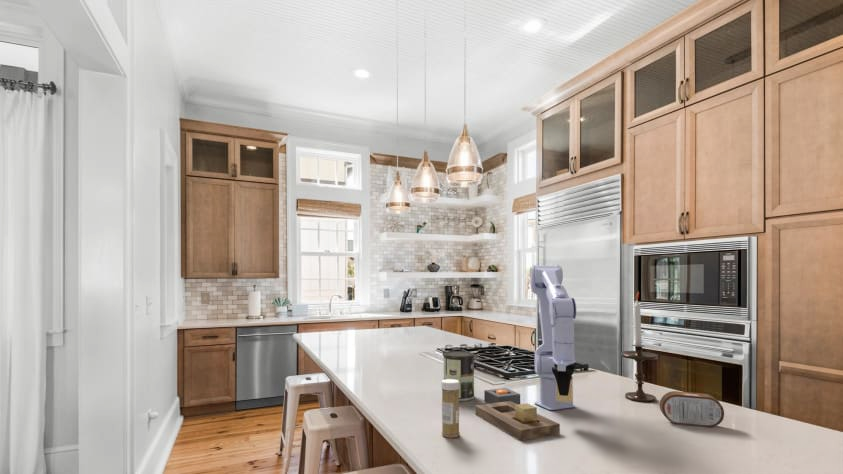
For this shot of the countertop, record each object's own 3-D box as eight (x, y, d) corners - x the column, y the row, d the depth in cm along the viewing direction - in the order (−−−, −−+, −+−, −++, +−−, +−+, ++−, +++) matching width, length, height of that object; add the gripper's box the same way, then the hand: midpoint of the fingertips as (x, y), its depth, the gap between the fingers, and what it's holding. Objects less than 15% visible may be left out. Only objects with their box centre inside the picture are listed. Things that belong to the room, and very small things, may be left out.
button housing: (505, 398, 144) (505, 387, 144) (520, 405, 136) (520, 394, 137) (484, 401, 141) (484, 390, 141) (498, 408, 133) (498, 396, 134)
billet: (527, 426, 118) (527, 403, 119) (537, 431, 115) (536, 407, 115) (515, 428, 117) (514, 404, 117) (524, 433, 113) (523, 409, 114)
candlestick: (667, 401, 142) (662, 291, 144) (641, 405, 138) (637, 291, 140) (639, 392, 152) (635, 290, 155) (614, 395, 148) (611, 290, 151)
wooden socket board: (510, 409, 133) (510, 400, 133) (559, 434, 112) (559, 423, 113) (475, 414, 128) (475, 405, 128) (520, 440, 108) (520, 430, 108)
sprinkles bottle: (463, 436, 111) (463, 381, 112) (448, 439, 108) (448, 383, 110) (452, 430, 115) (452, 377, 116) (437, 434, 112) (437, 379, 113)
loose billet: (557, 397, 123) (557, 375, 123) (573, 398, 121) (572, 376, 121) (556, 401, 119) (555, 378, 119) (572, 402, 117) (571, 379, 118)
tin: (722, 426, 119) (720, 394, 120) (726, 430, 116) (724, 397, 117) (660, 420, 124) (658, 389, 124) (662, 424, 121) (661, 392, 121)
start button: (503, 396, 141) (503, 389, 141) (510, 399, 138) (510, 391, 138) (494, 397, 140) (493, 390, 140) (500, 400, 136) (500, 392, 137)
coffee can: (472, 392, 151) (472, 350, 152) (476, 401, 141) (475, 356, 142) (442, 392, 151) (442, 350, 153) (443, 401, 141) (443, 356, 142)
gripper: (551, 337, 129) (551, 385, 128) (545, 345, 116) (546, 398, 115) (576, 339, 127) (577, 387, 126) (573, 347, 113) (574, 401, 112)
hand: (564, 393), depth 120 cm, fingers closed on loose billet, 4 cm apart
